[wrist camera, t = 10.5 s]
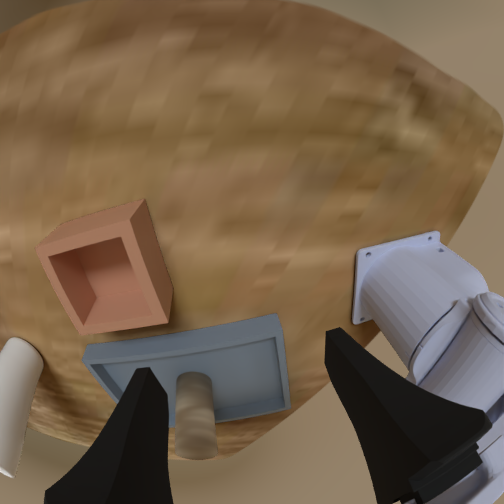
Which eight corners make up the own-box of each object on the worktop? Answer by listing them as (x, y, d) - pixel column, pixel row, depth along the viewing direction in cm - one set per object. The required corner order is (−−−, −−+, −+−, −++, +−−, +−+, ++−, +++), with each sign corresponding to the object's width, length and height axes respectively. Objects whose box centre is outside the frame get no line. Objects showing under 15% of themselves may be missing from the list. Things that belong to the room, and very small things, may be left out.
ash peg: (206, 368, 24) (211, 444, 17) (215, 388, 26) (222, 457, 18) (171, 374, 24) (168, 447, 17) (183, 393, 25) (184, 460, 18)
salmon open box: (145, 198, 17) (129, 219, 13) (173, 288, 20) (168, 322, 17) (60, 224, 16) (34, 247, 13) (95, 302, 20) (80, 335, 16)
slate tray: (276, 313, 23) (282, 329, 21) (286, 394, 29) (291, 408, 27) (87, 344, 22) (81, 360, 20) (141, 414, 28) (140, 428, 26)
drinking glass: (57, 377, 23) (27, 486, 10) (16, 364, 22) (-20, 460, 9) (39, 336, 21) (-10, 459, 7) (-4, 324, 19) (-57, 426, 6)
